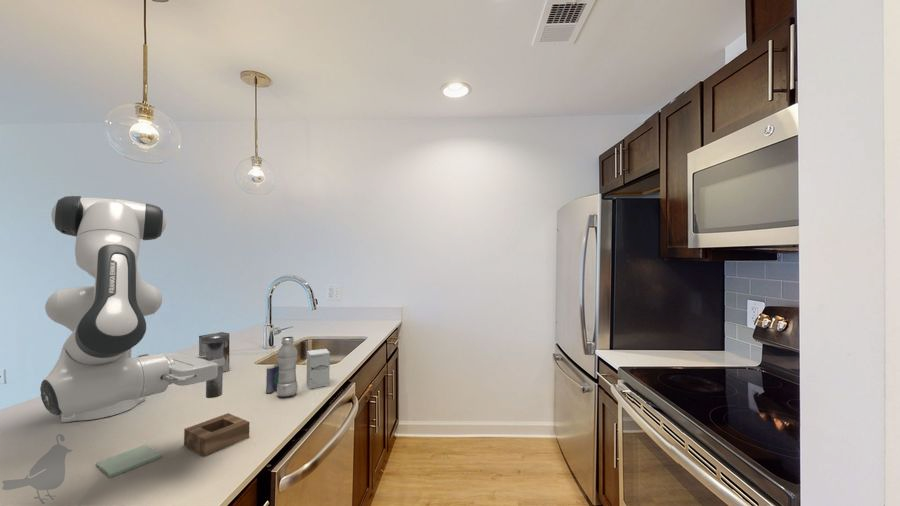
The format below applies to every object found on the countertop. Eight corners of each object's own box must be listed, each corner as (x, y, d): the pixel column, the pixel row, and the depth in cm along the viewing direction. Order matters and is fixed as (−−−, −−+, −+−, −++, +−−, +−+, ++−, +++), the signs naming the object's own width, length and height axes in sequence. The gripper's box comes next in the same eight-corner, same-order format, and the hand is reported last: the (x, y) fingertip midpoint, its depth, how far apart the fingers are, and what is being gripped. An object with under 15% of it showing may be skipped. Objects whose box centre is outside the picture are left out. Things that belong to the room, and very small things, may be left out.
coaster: (95, 465, 78) (95, 462, 78) (145, 446, 86) (145, 444, 86) (110, 477, 74) (110, 474, 74) (161, 456, 81) (161, 454, 81)
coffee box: (222, 368, 149) (222, 331, 150) (229, 371, 146) (230, 333, 146) (197, 374, 141) (198, 335, 142) (205, 377, 138) (206, 337, 138)
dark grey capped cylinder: (195, 397, 88) (196, 336, 88) (220, 389, 93) (221, 332, 93) (207, 401, 85) (208, 339, 85) (232, 393, 90) (233, 334, 90)
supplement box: (308, 389, 124) (309, 354, 125) (306, 383, 131) (306, 350, 131) (329, 386, 128) (330, 352, 128) (326, 380, 134) (326, 347, 135)
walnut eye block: (183, 444, 87) (184, 428, 87) (227, 427, 96) (228, 413, 96) (204, 456, 82) (205, 439, 82) (249, 437, 91) (249, 421, 91)
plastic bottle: (289, 399, 115) (290, 340, 116) (272, 398, 116) (272, 339, 117) (301, 392, 121) (302, 336, 122) (284, 391, 123) (285, 335, 123)
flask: (268, 394, 120) (269, 363, 120) (263, 393, 121) (264, 362, 122) (292, 386, 128) (292, 357, 128) (287, 384, 129) (287, 356, 130)
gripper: (173, 367, 73) (240, 352, 85) (134, 354, 83) (199, 342, 95) (173, 397, 72) (240, 378, 84) (134, 380, 83) (199, 365, 95)
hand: (218, 359), depth 90 cm, fingers closed on dark grey capped cylinder, 3 cm apart
